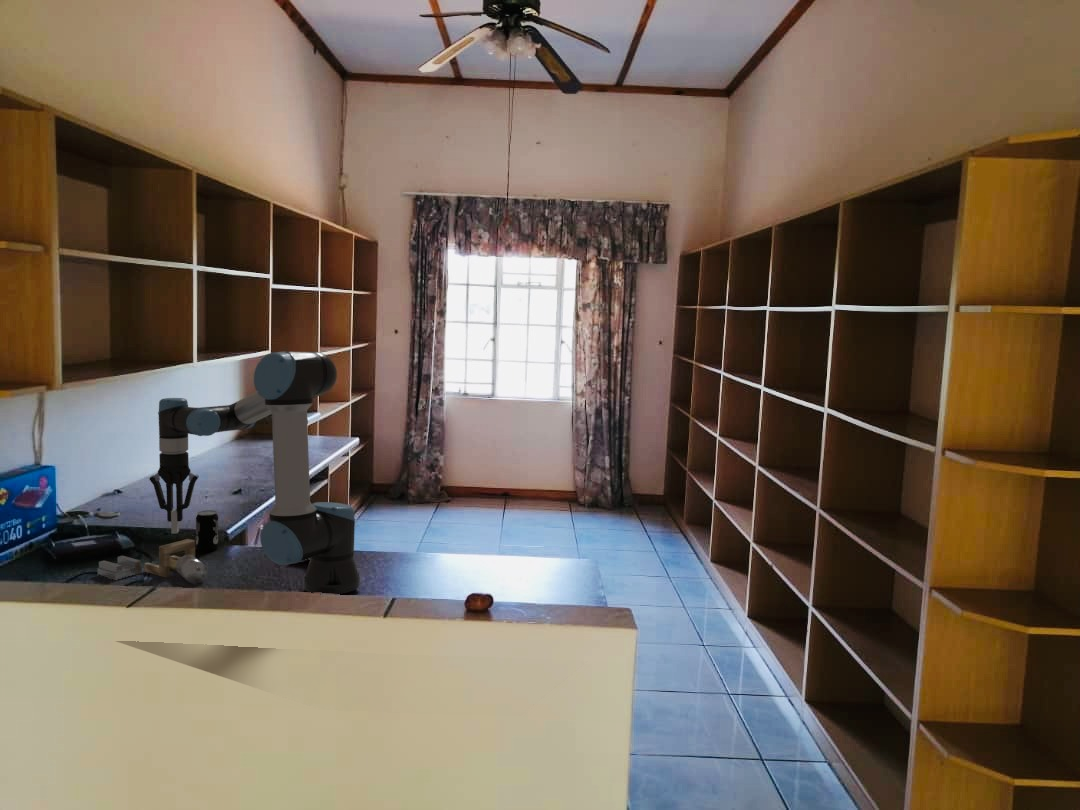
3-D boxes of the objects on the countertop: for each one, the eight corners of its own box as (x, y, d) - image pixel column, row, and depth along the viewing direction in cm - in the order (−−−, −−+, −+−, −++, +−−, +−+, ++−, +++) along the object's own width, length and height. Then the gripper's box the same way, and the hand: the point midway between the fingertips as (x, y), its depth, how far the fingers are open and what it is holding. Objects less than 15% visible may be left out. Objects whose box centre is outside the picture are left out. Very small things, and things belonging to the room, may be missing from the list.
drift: (189, 576, 222) (196, 569, 225) (186, 568, 221) (193, 562, 223) (165, 570, 227) (172, 564, 229) (162, 562, 225) (169, 556, 228)
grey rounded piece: (208, 581, 217) (207, 560, 216) (186, 586, 213) (184, 565, 212) (197, 572, 224) (196, 552, 223) (176, 577, 220) (174, 557, 219)
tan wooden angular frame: (195, 568, 227) (194, 540, 226) (166, 577, 218) (165, 548, 217) (173, 563, 231) (173, 535, 230) (144, 571, 223) (144, 542, 222)
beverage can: (210, 552, 242) (209, 515, 241) (191, 550, 244) (191, 513, 243) (222, 547, 249) (222, 511, 248) (204, 545, 250) (204, 509, 249)
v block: (141, 572, 221) (141, 560, 221) (115, 580, 214) (115, 567, 214) (124, 567, 225) (123, 555, 225) (97, 575, 218) (97, 562, 217)
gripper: (200, 449, 225) (201, 528, 227) (152, 450, 222) (153, 529, 224) (196, 453, 218) (197, 534, 220) (145, 454, 215) (147, 536, 217)
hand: (175, 532), depth 222 cm, fingers closed
